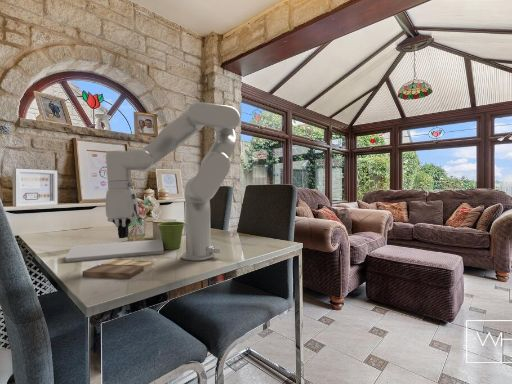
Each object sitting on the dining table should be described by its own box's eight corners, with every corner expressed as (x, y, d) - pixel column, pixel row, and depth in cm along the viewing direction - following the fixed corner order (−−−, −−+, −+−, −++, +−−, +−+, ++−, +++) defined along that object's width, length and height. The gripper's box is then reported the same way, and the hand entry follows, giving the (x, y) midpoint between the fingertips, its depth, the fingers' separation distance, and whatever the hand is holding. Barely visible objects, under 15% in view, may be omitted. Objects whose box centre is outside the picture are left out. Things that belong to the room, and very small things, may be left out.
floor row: (143, 270, 90) (143, 266, 90) (130, 278, 82) (130, 273, 82) (99, 269, 92) (99, 264, 91) (82, 276, 84) (82, 271, 84)
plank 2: (154, 266, 97) (154, 261, 97) (143, 270, 90) (144, 264, 90) (134, 265, 98) (134, 260, 98) (122, 269, 91) (123, 264, 91)
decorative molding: (163, 260, 113) (162, 249, 122) (163, 250, 112) (162, 239, 121) (66, 269, 101) (73, 256, 110) (65, 258, 99) (72, 245, 108)
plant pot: (152, 248, 122) (152, 223, 122) (176, 244, 131) (175, 221, 131) (166, 252, 114) (166, 226, 114) (190, 247, 123) (190, 223, 123)
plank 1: (133, 263, 98) (133, 258, 98) (121, 269, 91) (121, 264, 91) (114, 263, 99) (114, 258, 99) (101, 268, 92) (101, 263, 92)
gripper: (145, 184, 99) (148, 234, 100) (107, 186, 101) (111, 235, 101) (133, 185, 91) (137, 239, 92) (93, 187, 93) (97, 240, 94)
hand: (123, 237), depth 97 cm, fingers closed
